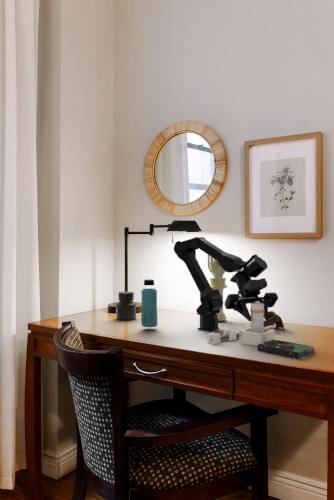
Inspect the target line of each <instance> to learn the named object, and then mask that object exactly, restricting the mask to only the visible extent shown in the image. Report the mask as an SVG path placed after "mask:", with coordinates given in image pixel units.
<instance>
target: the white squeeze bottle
mask: <svg viewBox="0 0 334 500" xmlns="http://www.w3.org/2000/svg"><path fill="white" fill-rule="evenodd" d="M249 313H250V316H251V321H250V327H251V331H250V332H256V333H264V327H263V324H264V321H265V319H264V304H263V303H260V301H255V303H250V309H249Z"/></svg>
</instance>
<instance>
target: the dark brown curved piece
mask: <svg viewBox="0 0 334 500" xmlns="http://www.w3.org/2000/svg"><path fill="white" fill-rule="evenodd" d="M270 326H275V328H278V329H279V328H281V329H282V330H283V331H285V324H284V322H283V319H282V317H281V316H280V315H279V314H277V313H276V312H275V311H273V310H268V320H267V321H266V320H265V319H264V324H263V328H267V327H270Z"/></svg>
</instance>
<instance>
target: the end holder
mask: <svg viewBox="0 0 334 500" xmlns="http://www.w3.org/2000/svg"><path fill="white" fill-rule="evenodd" d="M248 327H249V328H246V329H243V328H242V329H241V330H239V331H238V333H239V337H238V338H239V339H238V340H239V342H238V343H239V344H242V345H250V346H255V347H258V344H264V342H267V341H271V340H275V329H269V330H267V331H263V333H256V332H250V331H251V326H248Z"/></svg>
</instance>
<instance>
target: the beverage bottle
mask: <svg viewBox="0 0 334 500" xmlns="http://www.w3.org/2000/svg"><path fill="white" fill-rule="evenodd" d="M143 285H144V286H154V285H155V280H154V279H144V280H143ZM140 292H141V300H140V301H141V303H140V304H141V315H140V316H141V319H140V321H141V322H140V323H141V326H142V327H143V328H156V327H157V326H158V290H157V289H156V288H155V287H144V288H143V289H141V291H140Z"/></svg>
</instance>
